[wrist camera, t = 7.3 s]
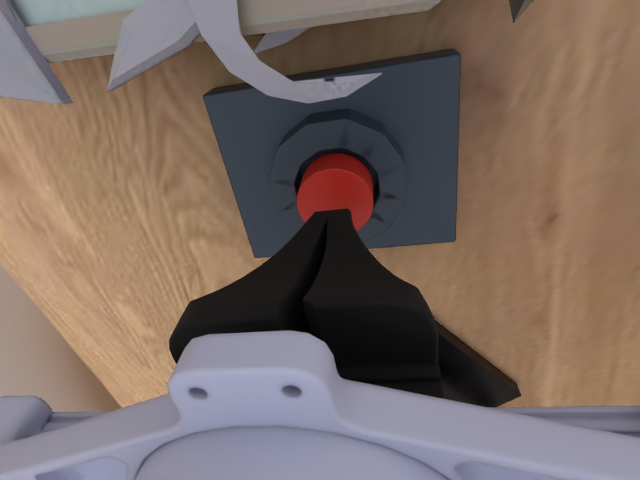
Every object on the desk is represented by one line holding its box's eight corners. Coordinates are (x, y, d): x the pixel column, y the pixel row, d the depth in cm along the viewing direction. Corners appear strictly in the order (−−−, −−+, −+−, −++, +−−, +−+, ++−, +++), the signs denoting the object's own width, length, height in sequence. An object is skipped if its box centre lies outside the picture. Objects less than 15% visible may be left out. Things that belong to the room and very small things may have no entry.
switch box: (454, 48, 16) (470, 59, 14) (450, 228, 21) (462, 260, 18) (211, 88, 18) (187, 104, 16) (259, 244, 23) (246, 276, 20)
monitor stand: (422, 310, 24) (431, 361, 21) (517, 383, 27) (537, 438, 24) (330, 371, 29) (325, 421, 25) (420, 428, 32) (427, 480, 28)
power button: (369, 147, 16) (369, 163, 15) (375, 213, 18) (376, 233, 16) (295, 157, 17) (289, 173, 15) (309, 219, 18) (304, 240, 17)
